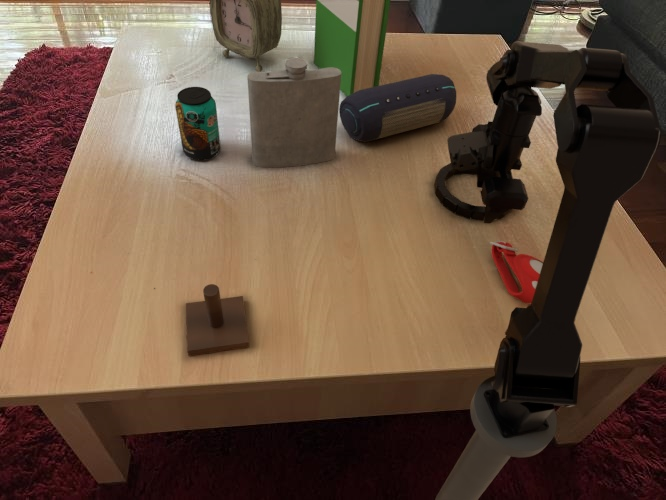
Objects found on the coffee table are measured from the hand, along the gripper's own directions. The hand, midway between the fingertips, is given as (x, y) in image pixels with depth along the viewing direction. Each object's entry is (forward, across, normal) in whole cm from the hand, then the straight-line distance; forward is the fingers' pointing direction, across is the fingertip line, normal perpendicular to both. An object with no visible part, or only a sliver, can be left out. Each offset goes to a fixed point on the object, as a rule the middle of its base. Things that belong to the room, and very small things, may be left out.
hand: (483, 204), depth 90 cm
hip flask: (+3, -12, -34) cm, 36 cm away
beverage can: (+3, -12, -52) cm, 53 cm away
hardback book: (+3, -45, -26) cm, 52 cm away
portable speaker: (+3, -26, -14) cm, 30 cm away
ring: (+3, -7, 0) cm, 7 cm away
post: (+3, +28, -40) cm, 49 cm away
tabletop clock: (+3, -49, -49) cm, 69 cm away
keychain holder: (+1, +14, +4) cm, 15 cm away
